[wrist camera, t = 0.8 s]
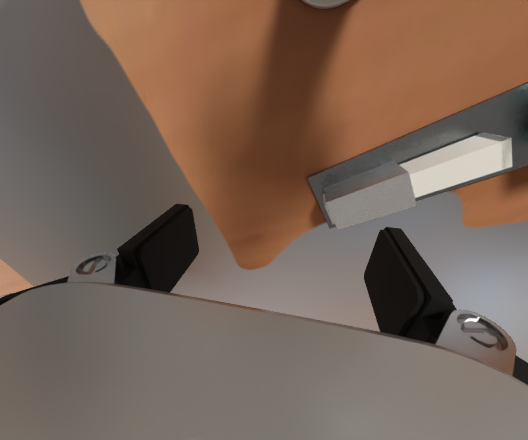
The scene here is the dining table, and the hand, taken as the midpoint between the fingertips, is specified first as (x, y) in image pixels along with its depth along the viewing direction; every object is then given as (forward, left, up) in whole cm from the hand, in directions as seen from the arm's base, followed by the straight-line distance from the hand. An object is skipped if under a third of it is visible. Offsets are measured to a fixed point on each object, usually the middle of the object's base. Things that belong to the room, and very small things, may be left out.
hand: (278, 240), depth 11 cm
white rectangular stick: (-4, +17, -29) cm, 34 cm away
